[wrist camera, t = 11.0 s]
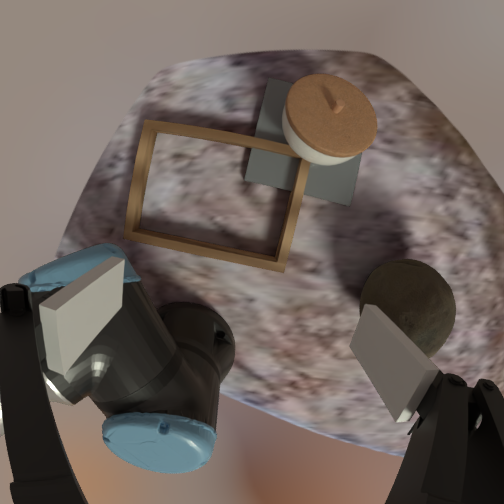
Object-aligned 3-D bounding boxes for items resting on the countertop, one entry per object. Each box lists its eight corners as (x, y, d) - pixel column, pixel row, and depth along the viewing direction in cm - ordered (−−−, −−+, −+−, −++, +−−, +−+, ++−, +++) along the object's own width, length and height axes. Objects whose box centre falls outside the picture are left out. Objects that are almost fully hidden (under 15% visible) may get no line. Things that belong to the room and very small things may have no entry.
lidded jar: (332, 192, 35) (367, 168, 26) (258, 148, 34) (271, 110, 25) (361, 133, 36) (394, 101, 27) (295, 92, 36) (314, 51, 26)
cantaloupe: (327, 306, 44) (360, 360, 29) (381, 231, 41) (438, 256, 27) (384, 343, 46) (423, 394, 31) (432, 278, 43) (487, 312, 29)
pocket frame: (281, 266, 42) (283, 272, 39) (130, 234, 40) (123, 238, 37) (308, 153, 38) (313, 151, 35) (151, 123, 37) (144, 119, 34)
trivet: (347, 205, 40) (349, 206, 39) (244, 180, 39) (244, 180, 38) (367, 109, 37) (370, 108, 36) (267, 80, 36) (268, 77, 34)
